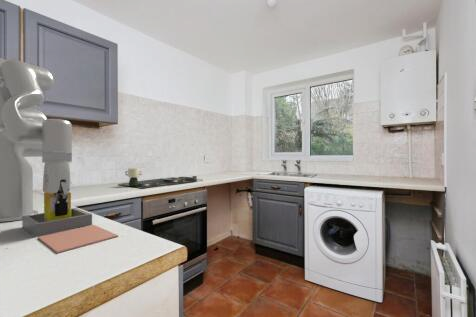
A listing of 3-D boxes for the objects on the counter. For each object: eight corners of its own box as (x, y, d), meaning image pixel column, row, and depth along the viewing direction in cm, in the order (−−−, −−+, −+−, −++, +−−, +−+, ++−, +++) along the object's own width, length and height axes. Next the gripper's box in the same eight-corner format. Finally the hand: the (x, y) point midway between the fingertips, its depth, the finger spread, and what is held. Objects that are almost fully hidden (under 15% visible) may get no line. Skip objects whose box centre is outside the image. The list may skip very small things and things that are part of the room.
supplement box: (66, 221, 79) (66, 190, 78) (71, 225, 75) (71, 192, 75) (43, 226, 74) (43, 192, 74) (48, 230, 70) (48, 194, 70)
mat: (37, 238, 63) (37, 236, 63) (93, 225, 75) (93, 224, 75) (57, 253, 54) (57, 251, 54) (118, 236, 65) (118, 235, 65)
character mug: (142, 185, 172) (142, 168, 172) (141, 186, 165) (141, 168, 165) (126, 185, 169) (126, 168, 168) (124, 187, 162) (124, 168, 162)
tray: (22, 227, 73) (22, 216, 73) (75, 217, 84) (75, 207, 84) (35, 237, 64) (35, 224, 64) (92, 224, 76) (92, 214, 76)
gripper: (34, 157, 76) (35, 211, 76) (51, 158, 66) (51, 221, 66) (62, 157, 82) (62, 207, 82) (81, 158, 72) (81, 215, 72)
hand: (57, 213), depth 74 cm, fingers closed on supplement box, 6 cm apart
